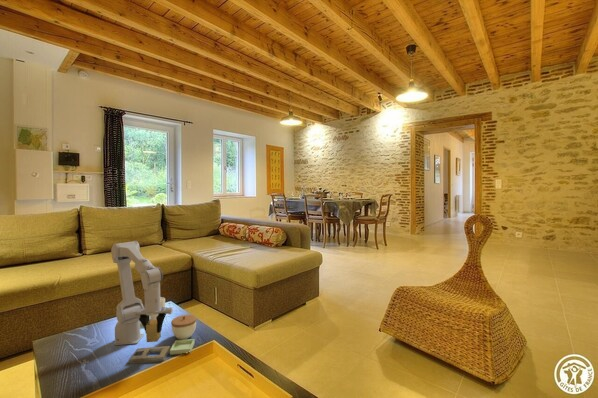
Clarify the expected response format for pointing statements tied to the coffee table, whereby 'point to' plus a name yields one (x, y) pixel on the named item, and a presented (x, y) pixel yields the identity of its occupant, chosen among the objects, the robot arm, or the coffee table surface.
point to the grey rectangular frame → (143, 353)
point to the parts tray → (182, 346)
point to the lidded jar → (183, 326)
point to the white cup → (153, 317)
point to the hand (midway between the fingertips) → (153, 332)
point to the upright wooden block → (152, 331)
